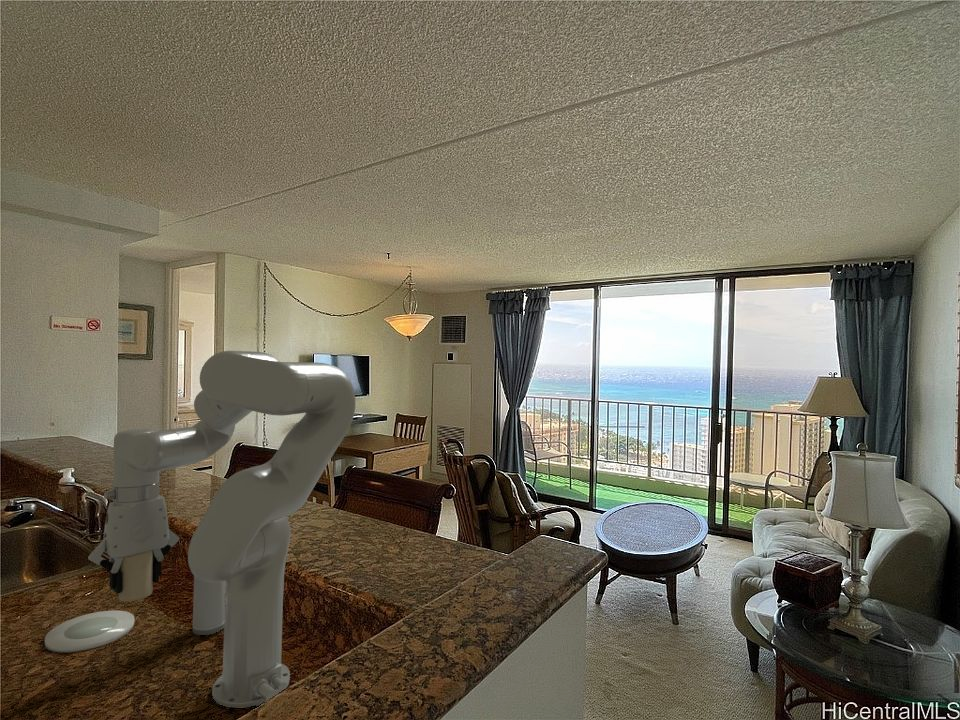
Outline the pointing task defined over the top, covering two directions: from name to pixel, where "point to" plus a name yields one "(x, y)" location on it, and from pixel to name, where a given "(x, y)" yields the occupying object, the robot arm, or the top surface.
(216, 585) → the travel mug
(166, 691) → the top surface
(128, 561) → the candle
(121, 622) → the ceramic plate
